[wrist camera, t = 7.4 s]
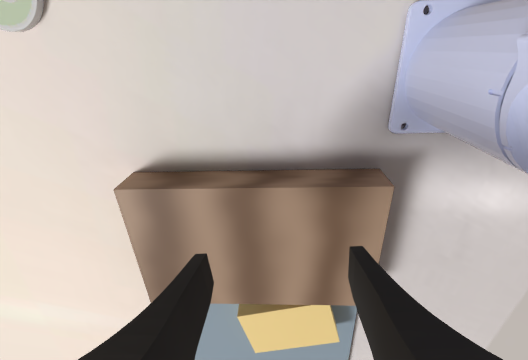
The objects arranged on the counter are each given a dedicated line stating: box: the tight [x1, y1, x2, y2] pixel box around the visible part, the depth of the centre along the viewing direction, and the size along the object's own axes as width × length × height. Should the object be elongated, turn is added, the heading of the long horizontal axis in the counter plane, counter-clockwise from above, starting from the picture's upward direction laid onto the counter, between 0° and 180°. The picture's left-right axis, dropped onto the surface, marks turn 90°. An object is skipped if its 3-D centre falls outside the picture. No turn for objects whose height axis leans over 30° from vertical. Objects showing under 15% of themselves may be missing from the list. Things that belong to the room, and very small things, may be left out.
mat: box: [195, 304, 357, 360], centre depth 30 cm, size 20×15×1 cm
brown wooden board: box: [114, 169, 394, 306], centre depth 23 cm, size 20×12×3 cm, turn 92°
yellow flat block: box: [237, 304, 340, 353], centre depth 27 cm, size 9×6×2 cm, turn 107°
